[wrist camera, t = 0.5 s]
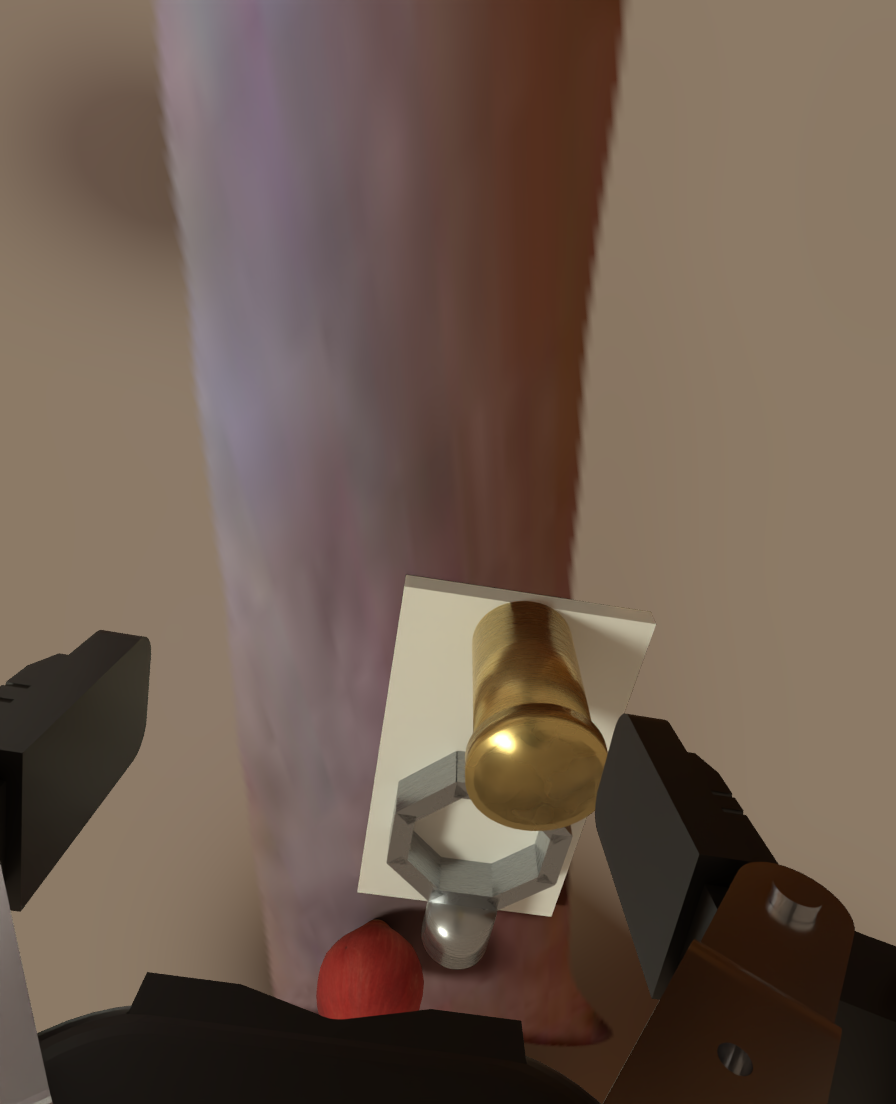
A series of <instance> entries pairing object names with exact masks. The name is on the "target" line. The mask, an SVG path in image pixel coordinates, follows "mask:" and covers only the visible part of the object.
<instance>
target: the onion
mask: <svg viewBox="0 0 896 1104" xmlns="http://www.w3.org/2000/svg"><path fill="white" fill-rule="evenodd" d="M423 985H424V980H423V974H422V967H421V964H420V962H419V959H418V956H417V954H416V952H415V950H414V948H413V946H412V945H411V944H410V943H409V942H408V941H407V940H406V939H405V938H404V937H402V936H401V935H400V934H399V933H398V932H396V931H395V930H393V929H392V928H390V927H389V926H388V924H387V923H385V922H384V921H382V920H378V919H376V920H372V921H369V922H368V923H366V924H365V925H363V926H361V927H359V928H358V929H356V930H354V931H352V932H350V933H348V934H347V935H345V936H344V937H342V938H341V939H340V940H338V941H337V942H336V943H335V944H334V945H333V947H332V948H331V949H330V950H329V951H328V952H327V953H326V956H325V958H324V960H323V963H322V965H321V968H320V972H319V977H318V984H317V995H316V997H317V1008H318V1011H319V1014H320V1015H321V1016H323V1017H327V1018H330V1019H350V1018H359V1017H368V1016H376V1015H385V1014H394V1013H402V1012H411V1011H419V1008H420V1004H421V1000H422V996H423Z"/></svg>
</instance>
